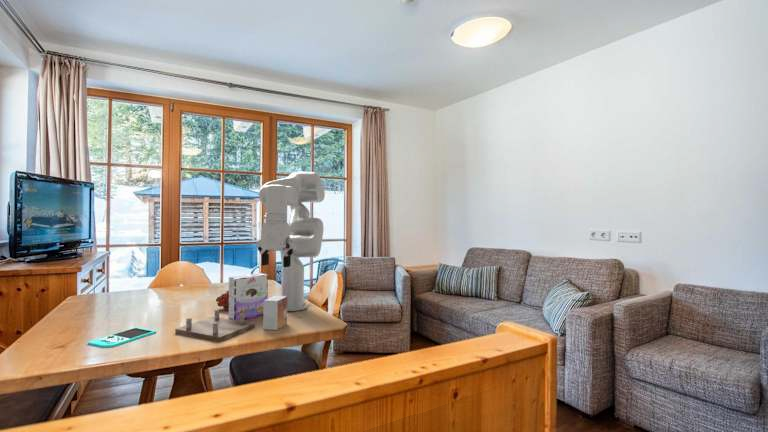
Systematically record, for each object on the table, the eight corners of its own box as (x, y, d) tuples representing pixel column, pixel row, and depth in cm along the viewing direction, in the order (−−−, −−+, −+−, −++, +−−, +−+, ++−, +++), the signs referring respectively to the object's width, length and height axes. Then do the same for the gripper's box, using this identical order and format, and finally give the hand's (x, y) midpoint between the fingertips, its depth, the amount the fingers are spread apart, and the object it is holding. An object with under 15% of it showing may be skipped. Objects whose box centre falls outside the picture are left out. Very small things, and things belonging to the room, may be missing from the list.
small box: (277, 330, 130) (277, 301, 130) (262, 329, 131) (263, 300, 131) (287, 324, 138) (287, 296, 138) (273, 322, 139) (274, 295, 139)
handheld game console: (86, 345, 115) (86, 341, 115) (136, 330, 130) (136, 326, 130) (108, 350, 112) (108, 345, 112) (157, 333, 127) (157, 330, 127)
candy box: (261, 311, 154) (261, 272, 154) (268, 314, 150) (268, 274, 150) (227, 318, 144) (228, 276, 144) (234, 321, 140) (234, 278, 140)
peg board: (213, 320, 141) (213, 307, 141) (254, 327, 133) (254, 313, 133) (175, 333, 126) (175, 318, 126) (219, 341, 118) (219, 326, 118)
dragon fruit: (242, 314, 155) (217, 316, 158) (250, 298, 162) (225, 300, 164) (233, 300, 151) (207, 303, 153) (241, 285, 157) (216, 287, 160)
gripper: (250, 218, 134) (249, 265, 134) (289, 219, 127) (289, 269, 128) (264, 218, 141) (263, 263, 141) (302, 219, 134) (301, 266, 134)
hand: (275, 265), depth 134 cm, fingers open, 9 cm apart
